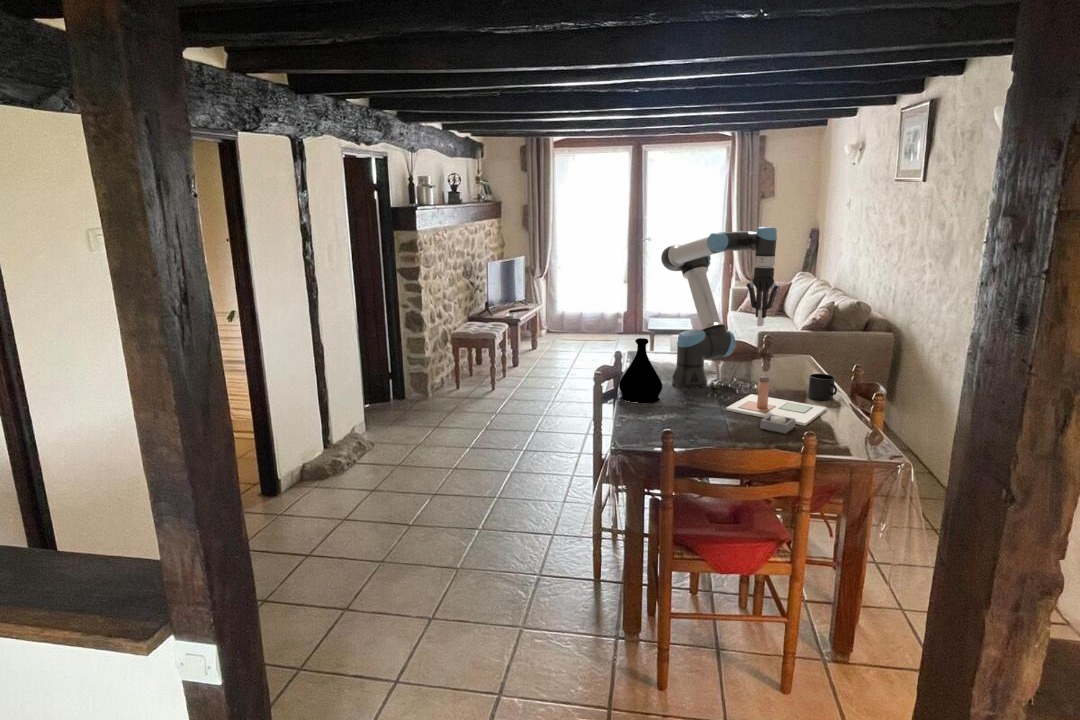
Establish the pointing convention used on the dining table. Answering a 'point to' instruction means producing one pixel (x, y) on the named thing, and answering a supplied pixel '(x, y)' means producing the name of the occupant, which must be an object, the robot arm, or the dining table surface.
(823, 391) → the mug
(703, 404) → the dining table surface
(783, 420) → the button
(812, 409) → the picture board
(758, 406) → the marker
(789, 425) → the button box
